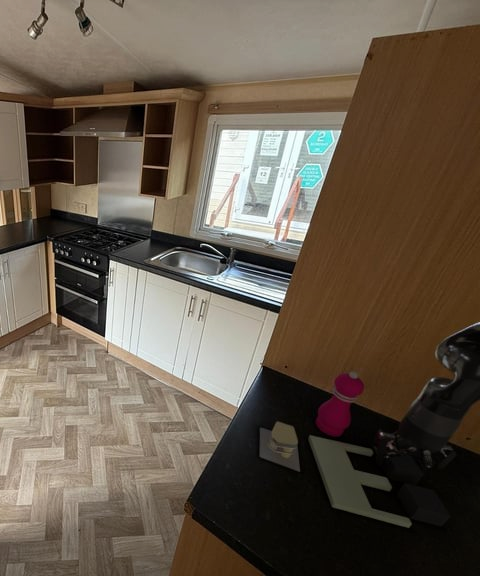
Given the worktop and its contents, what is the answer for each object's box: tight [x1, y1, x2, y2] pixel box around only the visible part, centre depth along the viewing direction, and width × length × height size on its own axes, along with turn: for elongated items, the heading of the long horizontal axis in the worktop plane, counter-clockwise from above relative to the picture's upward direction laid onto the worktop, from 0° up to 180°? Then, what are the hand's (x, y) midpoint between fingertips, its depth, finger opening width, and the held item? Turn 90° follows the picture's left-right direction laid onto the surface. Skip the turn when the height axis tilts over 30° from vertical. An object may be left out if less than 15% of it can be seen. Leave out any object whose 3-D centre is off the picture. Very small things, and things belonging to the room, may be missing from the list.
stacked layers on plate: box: [259, 421, 301, 473], centre depth 80 cm, size 10×9×6 cm
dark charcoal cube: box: [383, 450, 425, 486], centre depth 75 cm, size 5×5×4 cm
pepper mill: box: [315, 371, 365, 438], centre depth 83 cm, size 7×7×20 cm
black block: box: [396, 482, 452, 528], centre depth 67 cm, size 5×5×4 cm
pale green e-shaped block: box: [307, 434, 413, 529], centre depth 74 cm, size 14×18×2 cm
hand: (397, 469), depth 76 cm, fingers open, 6 cm apart
